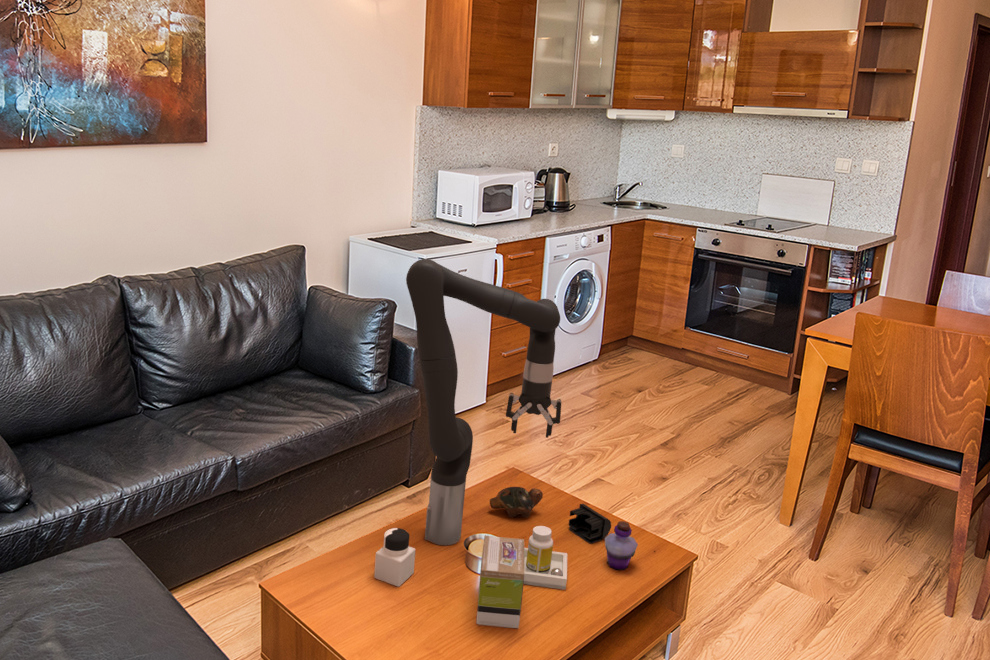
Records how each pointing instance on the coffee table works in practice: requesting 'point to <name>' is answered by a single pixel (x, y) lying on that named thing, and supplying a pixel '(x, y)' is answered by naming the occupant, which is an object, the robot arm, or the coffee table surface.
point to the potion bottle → (620, 546)
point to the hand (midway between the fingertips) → (530, 434)
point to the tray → (547, 579)
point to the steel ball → (557, 572)
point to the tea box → (501, 582)
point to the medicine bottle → (395, 558)
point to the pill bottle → (540, 550)
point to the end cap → (589, 524)
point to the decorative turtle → (516, 501)
